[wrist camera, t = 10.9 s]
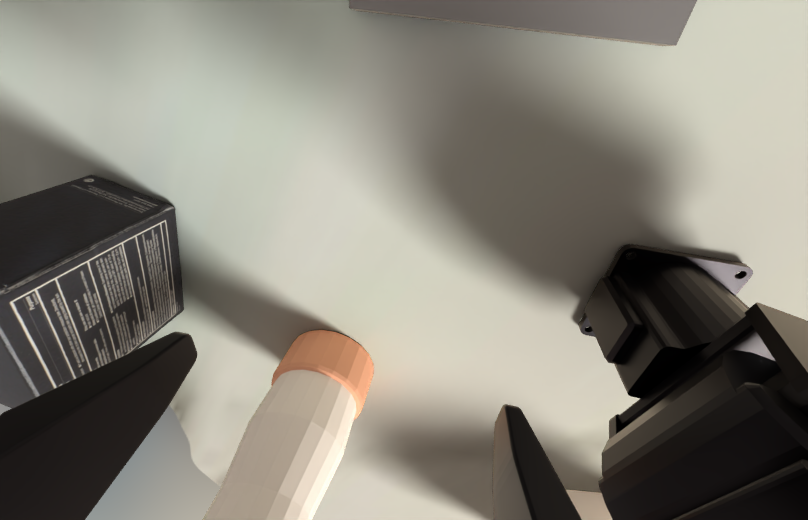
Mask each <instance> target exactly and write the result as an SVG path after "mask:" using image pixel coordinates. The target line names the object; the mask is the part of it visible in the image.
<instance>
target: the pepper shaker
mask: <svg viewBox="0 0 808 520" xmlns="http://www.w3.org/2000/svg"><path fill="white" fill-rule="evenodd" d="M373 374H374V369H373V362H372V360H371V358H370V356H369V354H368V353H367V352H366V351H365V350H364V349H363V347H362V346H361V345H359V344H358V343H357V342H355V341H354V340H352V339H351V338H349V337H347V336H344V335H342V334H339V333H337V332H332V331H326V330H314V331H308V332H306V333H303V334H301V335H299V336H298V337H297V339H296V340H295V341H294V342H293V343H292V345H291V347H290V348H289V350H288V351H287V353H286V355H285V356H284V358H283V359H282V361H281V363H280V364H279V366H278V367H277V369H276V371H275V372H274V374H273V379H272V387H271V389H270V390H269V392H268V393H267V395H266V396H265V398H264V399H263V401H262V403H261V404H260V406H259V407H258V409H257V410H256V412H255V413H254V415H253V416H252V418H251V419H250V421H249V423H248V426H247V428H246V430H245V433H244V435H243V437H242V440H241V442H240V444H239V447H238V449H237V451H236V454H235V456H234V458H233V460H232V463H231V465H230V467H229V470H228V472H227V474H226V477H225V479H224V481H223V484H222V486H221V488H220V490H219V492H218V494H217V495H216V497H215V499H214V501H213V502H212V504H211V506H210V507H209V509H208V511H207V513H206V514H205V516H204V518H203V520H312V518H313V516H314V514H315V512H316V510H317V508H318V506H319V504H320V502H321V500H322V498H323V496H324V493H325V491H326V489H327V487H328V485H329V483H330V481H331V479H332V477H333V475H334V473H335V471H336V469H337V467H338V465H339V463H340V461H341V459H342V457H343V454H344V450H345V447H346V443H347V440H348V437H349V433H350V430H351V427H352V423H353V420H354V419H356V418H357V417H358V416H359V414H360V412H361V411H362V409H363V406H364V402H365V399H366V396H367V393H368V390H369V387H370V383H371V380H372V377H373Z"/></svg>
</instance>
